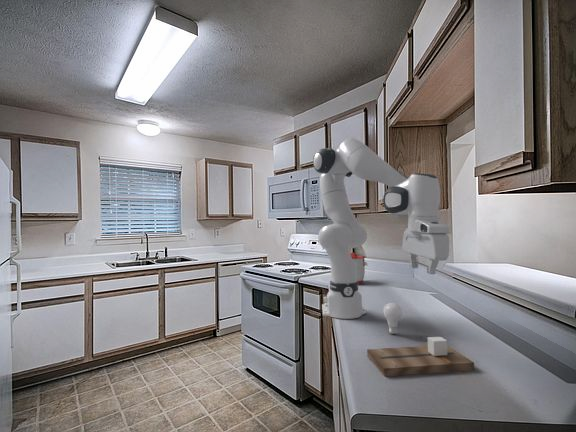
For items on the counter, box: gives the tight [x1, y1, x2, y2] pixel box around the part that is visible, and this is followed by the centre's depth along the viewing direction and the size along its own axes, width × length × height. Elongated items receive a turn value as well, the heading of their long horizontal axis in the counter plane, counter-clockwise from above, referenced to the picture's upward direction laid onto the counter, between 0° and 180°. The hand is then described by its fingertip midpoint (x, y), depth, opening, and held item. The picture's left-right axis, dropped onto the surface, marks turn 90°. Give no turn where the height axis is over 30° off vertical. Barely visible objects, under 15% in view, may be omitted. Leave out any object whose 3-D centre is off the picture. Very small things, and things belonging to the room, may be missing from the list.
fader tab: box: [427, 336, 448, 356], centre depth 87 cm, size 4×3×4 cm
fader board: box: [366, 345, 475, 377], centre depth 87 cm, size 25×12×2 cm, turn 96°
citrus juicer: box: [350, 252, 369, 285], centre depth 199 cm, size 16×17×20 cm
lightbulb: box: [382, 301, 403, 335], centre depth 109 cm, size 6×6×11 cm
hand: (422, 270), depth 95 cm, fingers open, 8 cm apart
